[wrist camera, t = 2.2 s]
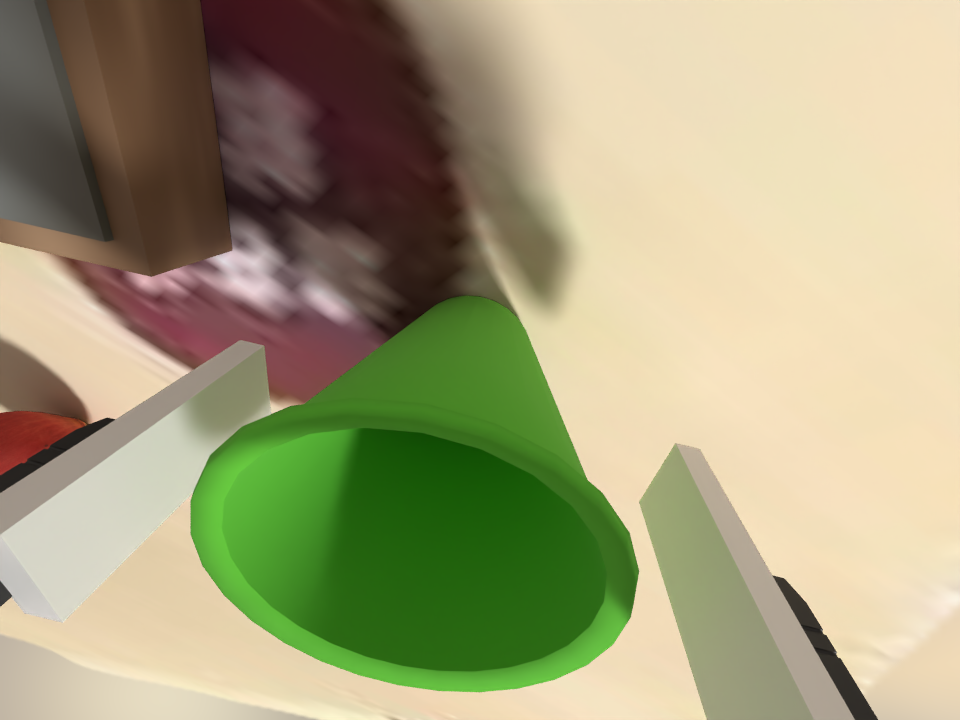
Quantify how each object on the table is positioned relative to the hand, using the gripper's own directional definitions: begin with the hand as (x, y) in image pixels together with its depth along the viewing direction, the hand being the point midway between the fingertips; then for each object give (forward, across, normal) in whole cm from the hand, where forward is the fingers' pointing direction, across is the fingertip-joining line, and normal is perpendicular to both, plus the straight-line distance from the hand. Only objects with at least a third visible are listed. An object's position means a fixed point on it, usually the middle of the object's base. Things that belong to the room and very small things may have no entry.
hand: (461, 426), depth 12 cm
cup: (+6, 0, 0) cm, 6 cm away
